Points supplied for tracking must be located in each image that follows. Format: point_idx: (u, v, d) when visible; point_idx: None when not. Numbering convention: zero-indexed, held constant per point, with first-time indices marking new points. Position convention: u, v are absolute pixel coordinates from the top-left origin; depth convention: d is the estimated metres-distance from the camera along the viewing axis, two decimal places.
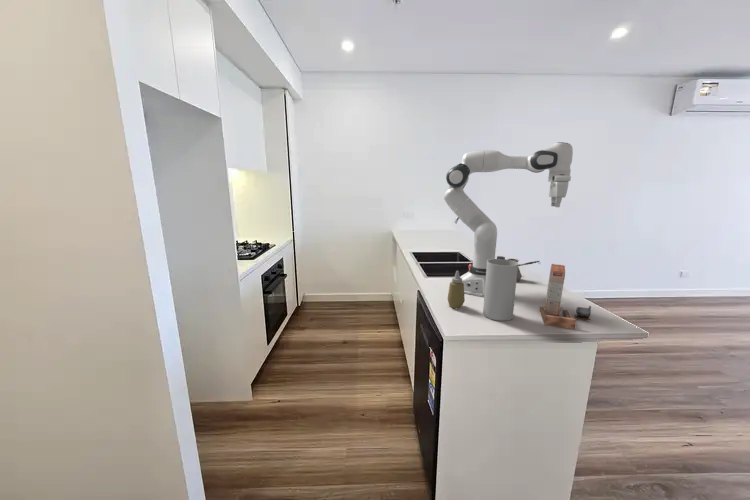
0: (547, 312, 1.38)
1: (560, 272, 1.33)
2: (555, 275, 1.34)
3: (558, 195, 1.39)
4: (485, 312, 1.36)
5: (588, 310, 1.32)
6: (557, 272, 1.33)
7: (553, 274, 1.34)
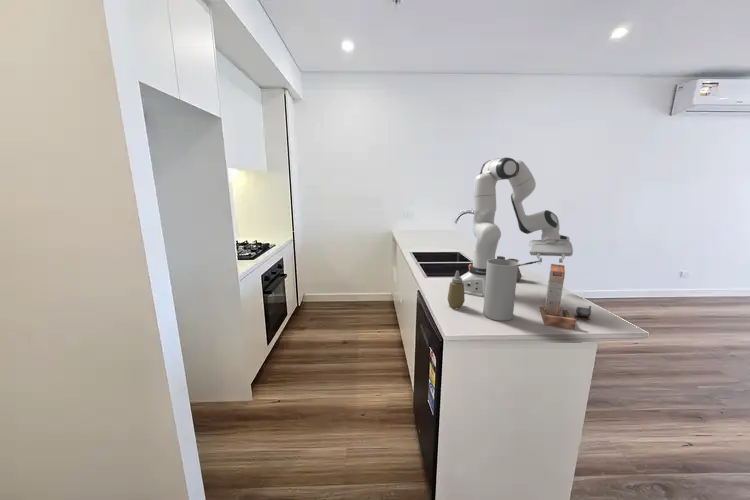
0: (547, 312, 1.38)
1: (560, 272, 1.33)
2: (555, 275, 1.34)
3: (572, 252, 1.58)
4: (485, 312, 1.36)
5: (588, 310, 1.32)
6: (557, 272, 1.34)
7: (552, 274, 1.35)
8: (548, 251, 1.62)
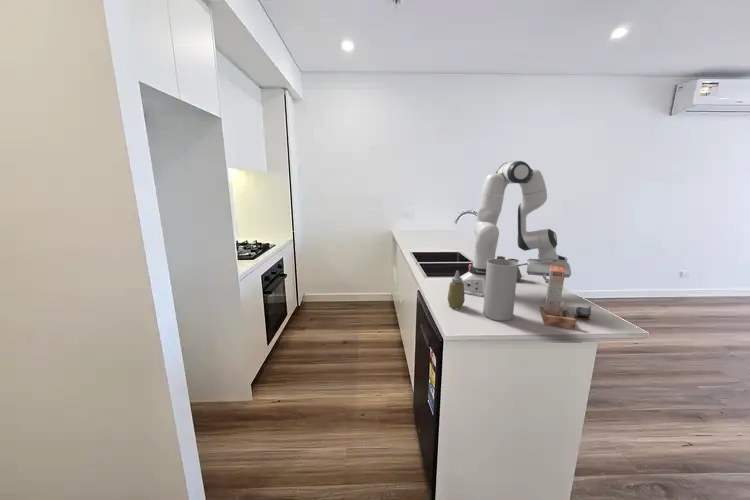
0: (547, 312, 1.38)
1: (560, 272, 1.33)
2: (555, 275, 1.34)
3: (570, 273, 1.55)
4: (485, 312, 1.36)
5: (588, 310, 1.32)
6: (557, 272, 1.34)
7: (552, 274, 1.35)
8: (546, 271, 1.58)
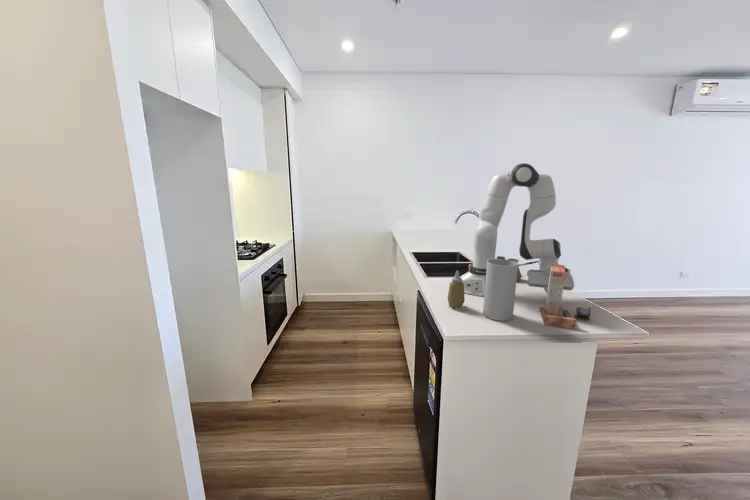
0: (547, 313, 1.38)
1: (560, 272, 1.32)
2: (556, 275, 1.33)
3: (573, 286, 1.47)
4: (485, 312, 1.36)
5: (588, 310, 1.32)
6: (557, 272, 1.33)
7: (553, 274, 1.34)
8: (548, 283, 1.50)
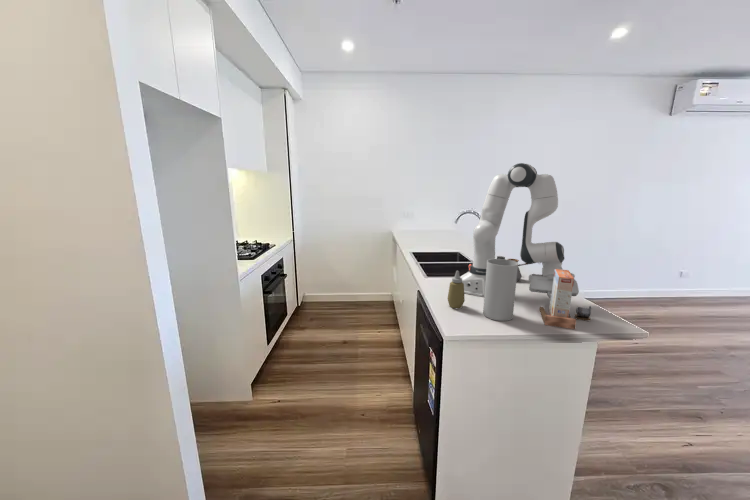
0: None
1: (569, 278, 1.24)
2: (564, 282, 1.25)
3: None
4: (485, 312, 1.36)
5: (588, 310, 1.32)
6: (565, 278, 1.24)
7: (561, 281, 1.25)
8: (551, 289, 1.42)
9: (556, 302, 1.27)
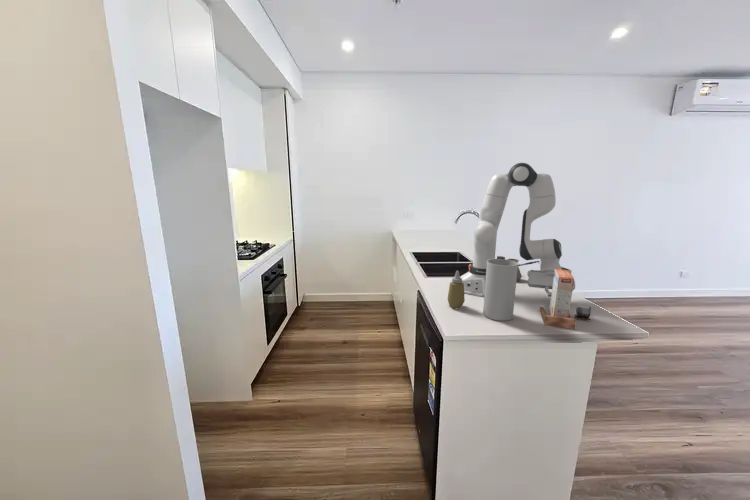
0: None
1: (569, 278, 1.24)
2: (564, 282, 1.25)
3: (574, 287, 1.45)
4: (485, 312, 1.36)
5: (588, 310, 1.32)
6: (565, 279, 1.24)
7: (561, 281, 1.25)
8: (549, 284, 1.48)
9: (556, 302, 1.27)
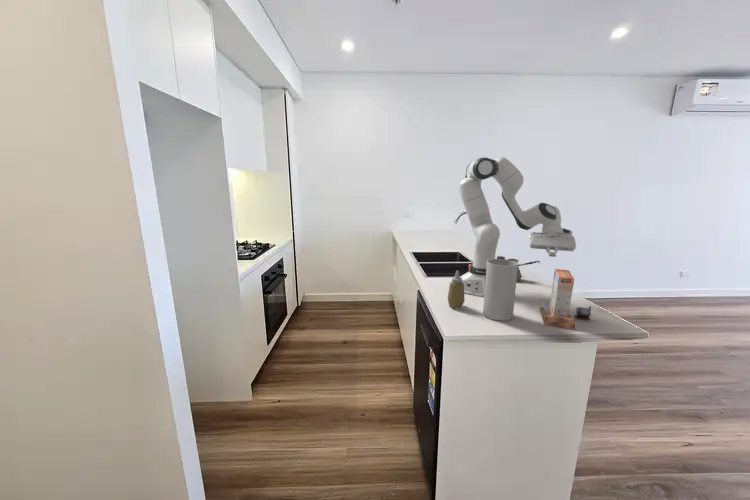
0: None
1: (569, 278, 1.24)
2: (564, 282, 1.25)
3: (575, 247, 1.49)
4: (485, 312, 1.36)
5: (588, 310, 1.32)
6: (565, 279, 1.24)
7: (561, 281, 1.25)
8: (550, 244, 1.52)
9: (556, 302, 1.27)
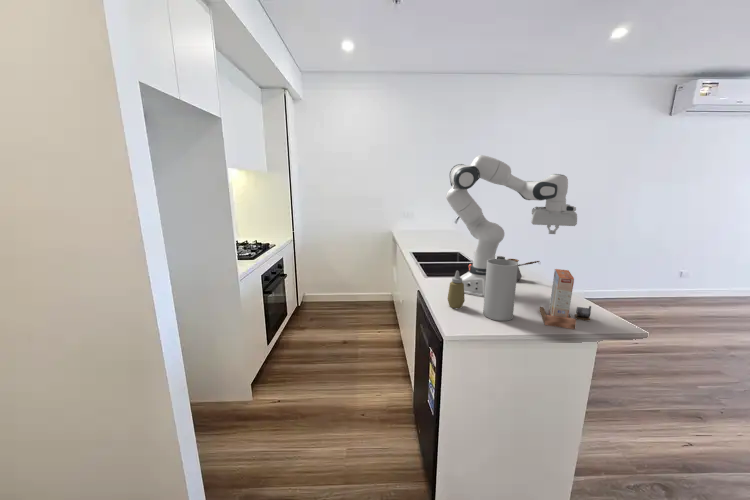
0: None
1: (569, 278, 1.24)
2: (564, 282, 1.25)
3: (576, 224, 1.51)
4: (485, 312, 1.36)
5: (588, 310, 1.32)
6: (565, 279, 1.24)
7: (561, 281, 1.25)
8: (551, 223, 1.54)
9: (556, 302, 1.27)
